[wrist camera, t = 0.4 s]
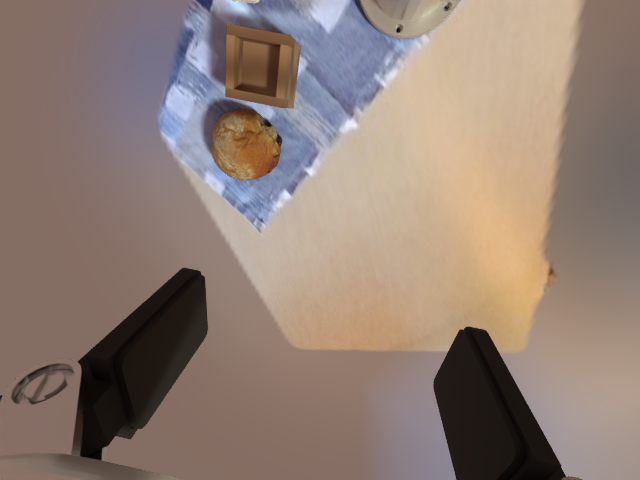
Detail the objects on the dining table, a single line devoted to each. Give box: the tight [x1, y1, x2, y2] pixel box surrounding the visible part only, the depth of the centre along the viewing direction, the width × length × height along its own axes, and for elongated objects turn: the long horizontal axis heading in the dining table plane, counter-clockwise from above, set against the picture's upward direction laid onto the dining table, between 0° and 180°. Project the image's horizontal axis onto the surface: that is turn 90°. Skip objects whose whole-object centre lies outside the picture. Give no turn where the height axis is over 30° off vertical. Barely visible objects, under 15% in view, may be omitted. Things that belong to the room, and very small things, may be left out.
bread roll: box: [212, 109, 282, 181], centre depth 40 cm, size 10×10×8 cm
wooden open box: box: [225, 24, 301, 108], centre depth 35 cm, size 7×7×6 cm
